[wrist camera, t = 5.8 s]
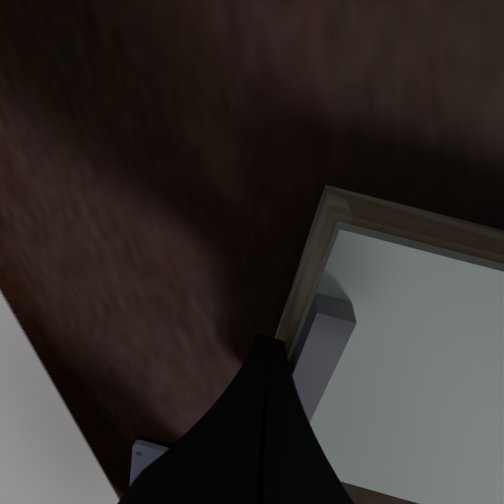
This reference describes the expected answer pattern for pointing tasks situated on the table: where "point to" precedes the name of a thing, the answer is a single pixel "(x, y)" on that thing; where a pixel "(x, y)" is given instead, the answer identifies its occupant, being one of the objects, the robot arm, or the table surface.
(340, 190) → the keepsake box
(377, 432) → the lid
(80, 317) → the table surface
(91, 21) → the table surface
